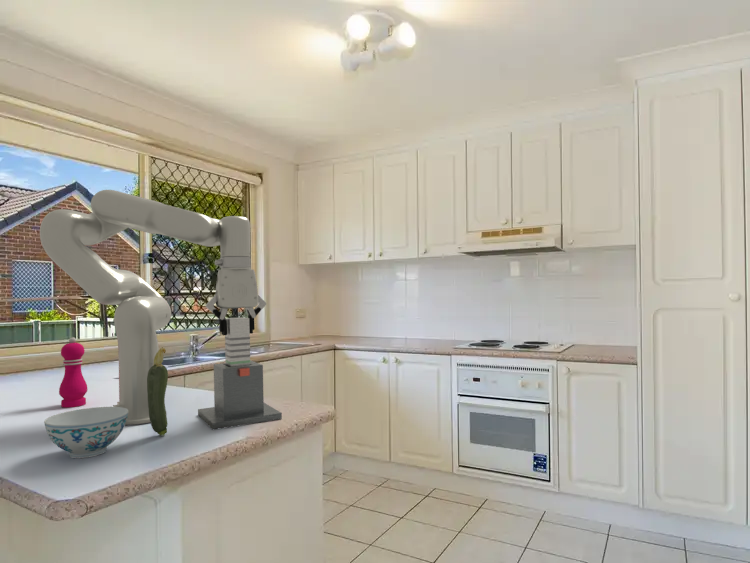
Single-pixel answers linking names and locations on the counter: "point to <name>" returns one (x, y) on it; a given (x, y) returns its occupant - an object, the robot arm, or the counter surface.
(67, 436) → the chinaware
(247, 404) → the stand base
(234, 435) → the counter surface
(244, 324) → the column
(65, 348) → the pepper mill
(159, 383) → the vegetable
